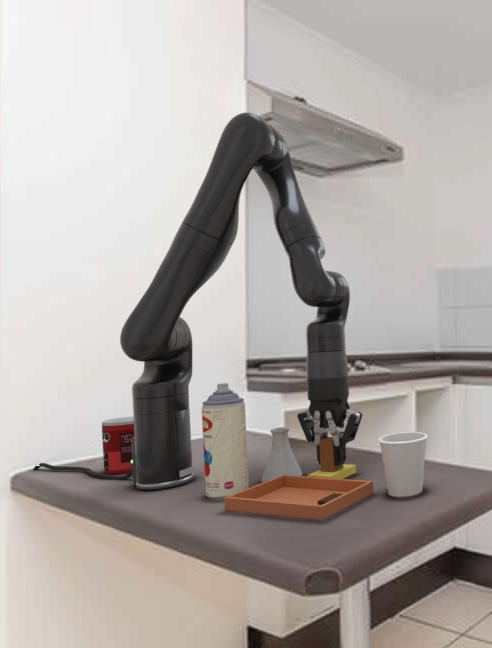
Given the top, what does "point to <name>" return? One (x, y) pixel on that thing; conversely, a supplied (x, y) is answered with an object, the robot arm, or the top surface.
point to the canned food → (117, 444)
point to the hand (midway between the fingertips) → (331, 463)
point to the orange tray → (298, 496)
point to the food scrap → (328, 498)
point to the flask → (281, 457)
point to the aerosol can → (224, 443)
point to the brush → (331, 462)
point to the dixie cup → (404, 462)
